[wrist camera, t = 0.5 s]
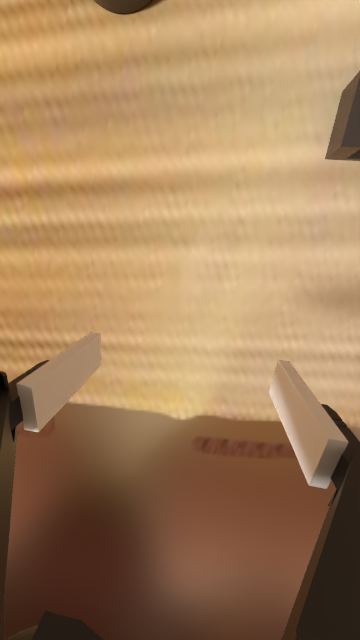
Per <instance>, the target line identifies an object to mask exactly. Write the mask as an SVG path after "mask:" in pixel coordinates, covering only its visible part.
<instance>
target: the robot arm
mask: <svg viewBox="0 0 360 640" xmlns="http://www.w3.org/2000/svg"><path fill="white" fill-rule="evenodd" d="M94 1H95V2H96V3H97V4H99V5H100V6H101V7H103V8H105V9H107V10H109V11H112V12H115V13H130V12H134V11H137V10H139V9H141V8H143V7H144V6H146V5H147V4H148V3H150V2H151V1H152V0H94ZM100 366H101V334H100V333H93V332H90V333H89V334H88V335H86V336H85V337H83V338H82V339H80V340H79V341H77V342H76V343H74V344H73V345H72V346H70V347H69V348H67V349H66V350H64V351H63V352H61V353H60V354H59V355H57V356H56V357H54V358H53V359H51V360H46V361H44V362H41V363H39V364H37V365H35V366H34V367H32V368H31V370H30V369H29V370H28V371H26V372H25V373H23V374H22V375H20V376H19V377H17V378H16V379H14V380H13V381H11V382H10V383H8V380H7V375H6V373H4V372H2V371H0V640H5V619H4V596H5V583H6V570H7V557H8V544H9V531H10V518H11V505H12V493H13V480H14V467H15V453H16V441H17V428H16V426H17V425H18V424H19V423H20V422H21V421H23V424H24V430H29V431H34V432H39V431H40V430H41V429H42V428H43V427H44V426H45V425H46V424H47V423H48V421H49V420H50V419H51V418H52V417H53V416H54V415H55V414H56V413H57V412H58V411H59V410H60V409H61V407H63V405H64V404H65V403H66V402H67V401H68V400H69V399H70V398H71V397H72V396H73V395H74V394H75V393H76V392H77V391H78V389H79V388H80V387H81V386H82V385H83V384H84V383H85V382H86V381H87V380H88V379H89V378H90V377H91V376H92V375H93V373H94V372H95V371H96V370H97V369H98V368H99V367H100ZM269 394H270V396H271V398H272V401H273V403H274V405H275V408H276V410H277V412H278V415H279V417H280V419H281V422H282V424H283V426H284V429H285V431H286V433H287V436H288V438H289V440H290V443H291V445H292V447H293V450H294V452H295V454H296V457H297V459H298V461H299V463H300V466H301V468H302V470H303V473H304V475H305V477H306V480H307V482H308V484H309V485H311V486H315V487H320V488H325V489H327V487H328V485H329V483H330V480H331V479H332V481H333V483H334V485H335V487H336V491H335V493H334V495H333V497H332V499H331V501H330V503H329V505H328V506H329V509H328V512H327V514H326V517H325V520H324V523H323V526H322V528H321V531H320V534H319V537H318V539H317V542H316V545H315V548H314V550H313V553H312V556H311V559H310V561H309V564H308V567H307V570H306V572H305V575H304V578H303V581H302V584H301V586H300V589H299V592H298V595H297V598H296V600H295V603H294V606H293V608H292V611H291V614H290V617H289V619H288V623H287V625H286V628H285V631H284V633H283V636H282V639H281V640H360V442H359V441H358V439H357V438H356V437H355V435H354V434H353V433H352V432H351V430H350V429H349V428H347V425H346V424H345V423H344V422H343V421H342V419H341V418H340V416H339V415H338V414H337V413H336V412H335V411H334V410H333V409H331V408H330V407H329V406H328V405H324V404H320V402H319V401H318V400H317V398H316V397H315V396H314V394H313V393H312V392H311V390H310V389H309V387H308V386H307V385H306V383H305V382H304V381H303V379H302V378H301V377H300V375H299V374H298V373H297V371H296V370H295V368H294V367H293V366H292V364H291V363H290V362H289V361H283V360H278V362H277V365H276V369H275V373H274V376H273V380H272V383H271V387H270V390H269ZM7 640H103V639H102V638H101V637H100V636H98V635H97V634H96V633H95V632H94V631H93V630H92V629H91V628H89V627H88V626H87V625H86V624H85V623H84V622H83V621H81V620H77V619H73V618H70V617H66V616H63V615H59V614H55V613H52V612H48V611H45V612H44V614H43V616H42V619H41V621H40V623H39V625H38V626H34V627H31V628H29V629H26V630H23V631H21V632H19V633H17V634H15V635H13V636H12V637H10V638H8V639H7Z"/></svg>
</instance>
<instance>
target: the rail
mask: <svg viewBox="0 0 360 640" xmlns="http://www.w3.org/2000/svg"><path fill="white" fill-rule="evenodd" d="M325 159H335V160H355V161H360V71H359V73H358V74H357V75H356V76H355V77H354V79H353V80H352V81H351V82H350V83H349V84H348V86H347V87H346V88H345V89H344V90H343V92H342V96H341V99H340V103H339V107H338V111H337V115H336V119H335V123H334V127H333V131H332V134H331V138H330V142H329V146H328V150H327V154H326V158H325Z"/></svg>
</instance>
